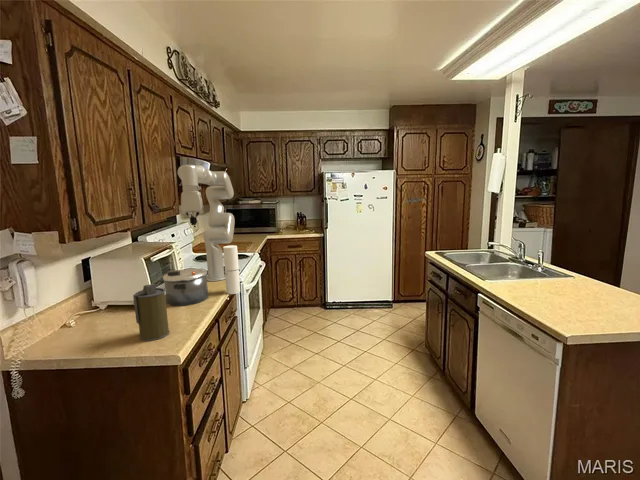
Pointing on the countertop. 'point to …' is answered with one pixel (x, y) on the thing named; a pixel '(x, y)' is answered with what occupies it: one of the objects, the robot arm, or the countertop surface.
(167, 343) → the countertop surface
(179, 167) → the robot arm
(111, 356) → the countertop surface
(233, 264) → the cylindrical container
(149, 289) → the canister
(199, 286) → the cooker pot
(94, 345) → the countertop surface
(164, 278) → the cooker lid
